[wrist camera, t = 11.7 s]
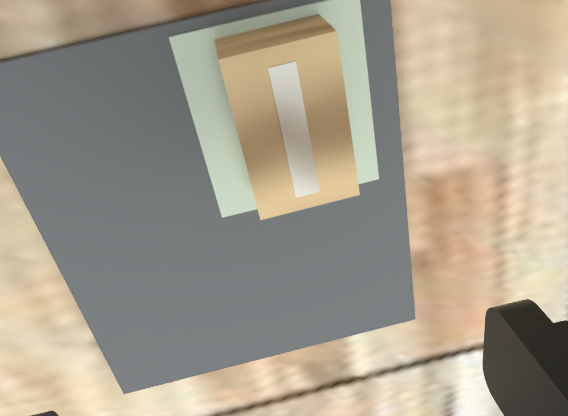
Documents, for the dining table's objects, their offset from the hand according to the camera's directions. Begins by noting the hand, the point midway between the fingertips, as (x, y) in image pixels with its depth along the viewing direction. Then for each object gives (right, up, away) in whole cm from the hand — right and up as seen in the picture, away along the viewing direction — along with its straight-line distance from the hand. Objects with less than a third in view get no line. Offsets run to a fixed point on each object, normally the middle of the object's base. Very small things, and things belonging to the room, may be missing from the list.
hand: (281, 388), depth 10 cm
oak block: (0, +8, +17) cm, 19 cm away
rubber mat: (-3, +3, +21) cm, 21 cm away
